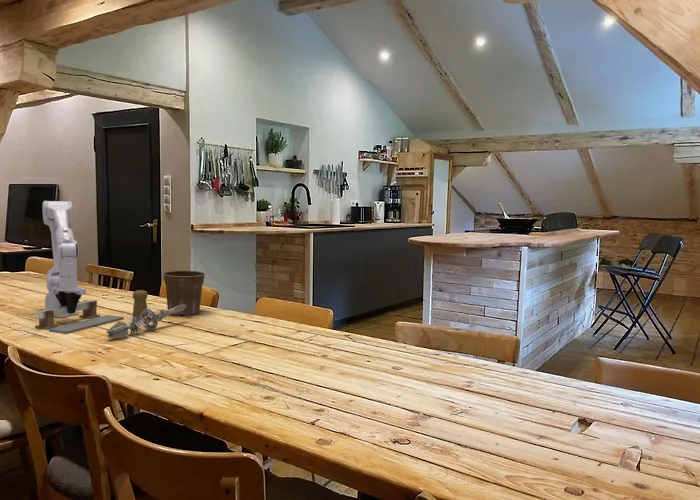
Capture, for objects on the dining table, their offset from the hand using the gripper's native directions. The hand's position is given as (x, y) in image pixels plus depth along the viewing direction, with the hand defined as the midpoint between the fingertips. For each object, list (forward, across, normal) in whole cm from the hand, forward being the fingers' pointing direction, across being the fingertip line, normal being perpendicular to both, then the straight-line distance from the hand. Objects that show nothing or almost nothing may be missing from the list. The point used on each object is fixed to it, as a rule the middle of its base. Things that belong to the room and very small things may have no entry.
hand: (68, 313), depth 203 cm
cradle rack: (+3, 0, 0) cm, 3 cm away
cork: (+4, +19, +15) cm, 24 cm away
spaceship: (+4, +34, +3) cm, 34 cm away
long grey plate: (+3, +9, 0) cm, 10 cm away
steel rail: (0, 0, 0) cm, 0 cm away
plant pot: (+4, +26, +32) cm, 41 cm away
